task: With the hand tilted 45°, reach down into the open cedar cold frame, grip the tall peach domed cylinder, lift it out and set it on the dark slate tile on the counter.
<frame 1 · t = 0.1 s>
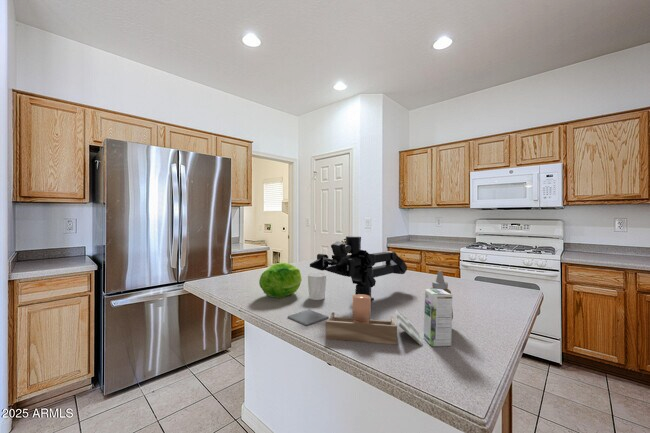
hand: (317, 267, 103), 17 cm above the countertop, tool horizontal, fingers open, 9 cm apart
lettuce: (281, 296, 124), on the countertop
slate tile: (308, 317, 98), on the countertop
white cup: (316, 298, 122), on the countertop
syrup box: (437, 342, 81), on the countertop
cold frame: (361, 331, 87), on the countertop
squeeze bottle: (439, 327, 92), on the countertop
peach domed cylinder: (361, 332, 86), resting in cold frame
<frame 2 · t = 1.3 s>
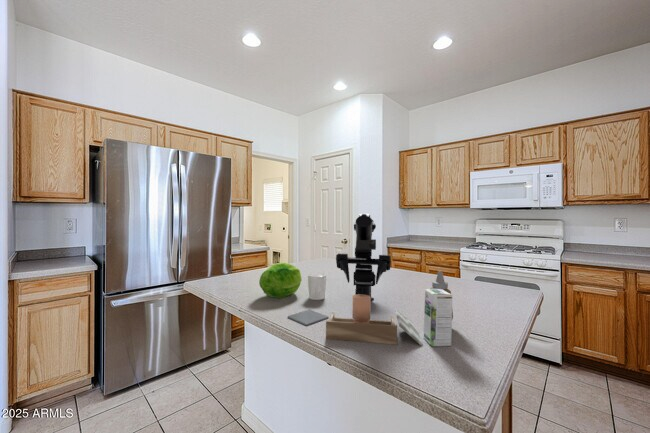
hand: (362, 282, 94), 13 cm above the countertop, tool tilted 45°, fingers open, 9 cm apart
nothing on the countertop moved.
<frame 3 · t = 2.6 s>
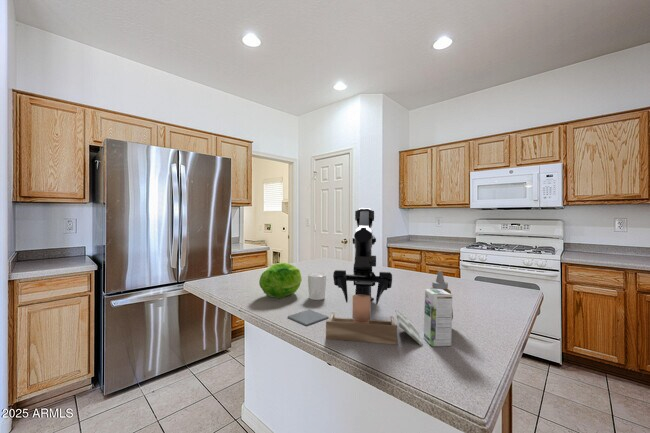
hand: (361, 302, 87), 9 cm above the countertop, tool tilted 45°, fingers open, 9 cm apart
nothing on the countertop moved.
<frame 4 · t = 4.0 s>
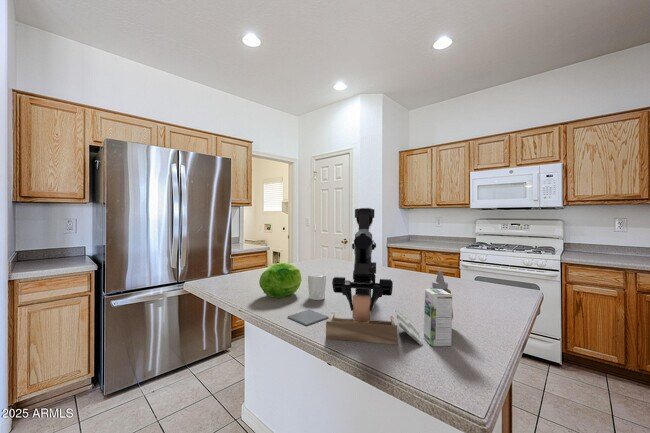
hand: (361, 311, 85), 7 cm above the countertop, tool tilted 45°, fingers closed on peach domed cylinder, 5 cm apart
peach domed cylinder: (361, 332, 86), resting in cold frame, touching gripper
everything else where it was.
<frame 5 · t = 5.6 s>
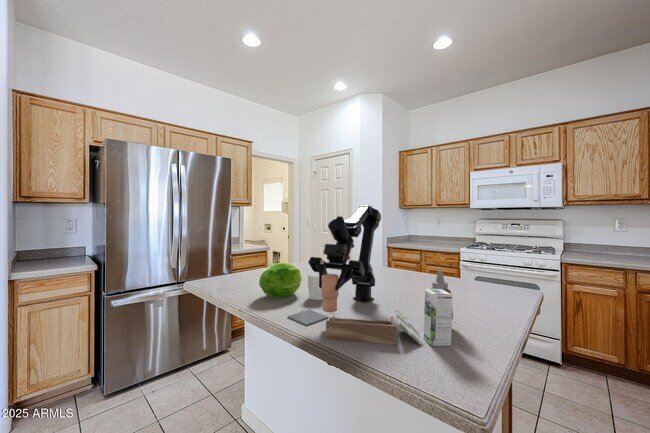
hand: (328, 288, 90), 12 cm above the countertop, tool tilted 45°, fingers closed on peach domed cylinder, 5 cm apart
peach domed cylinder: (329, 309, 91), point 5 cm above the countertop, touching gripper
everything else where it was.
when the fingers open (8 cm above the countertop, at t = 7.5 s): peach domed cylinder stays where it is, resting on slate tile.
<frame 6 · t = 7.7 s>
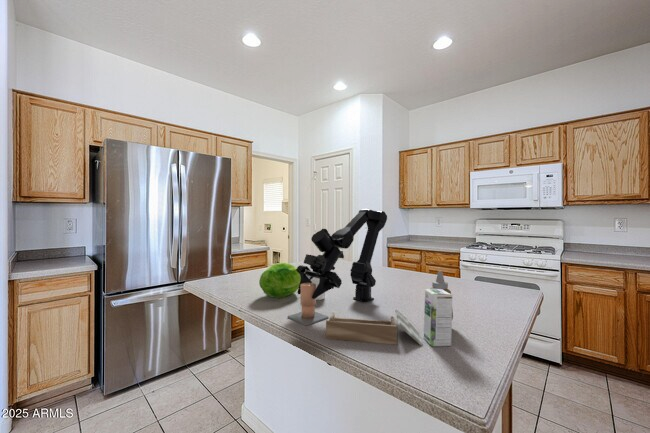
hand: (305, 295, 97), 8 cm above the countertop, tool tilted 45°, fingers open, 7 cm apart
peach domed cylinder: (308, 316, 98), point 1 cm above the countertop, touching slate tile
everything else where it was.
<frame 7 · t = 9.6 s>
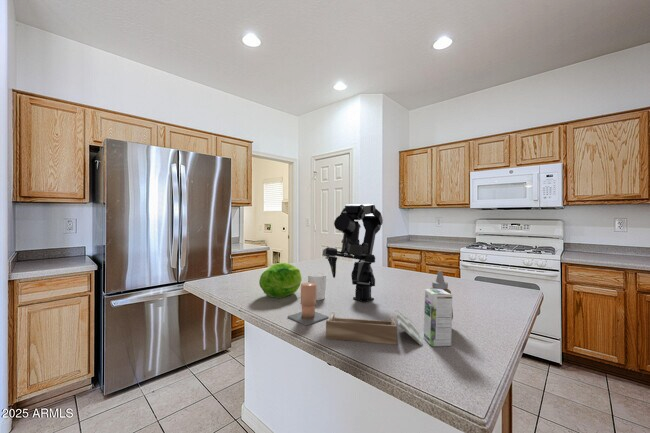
hand: (346, 279, 102), 12 cm above the countertop, tool tilted 15°, fingers open, 9 cm apart
nothing on the countertop moved.
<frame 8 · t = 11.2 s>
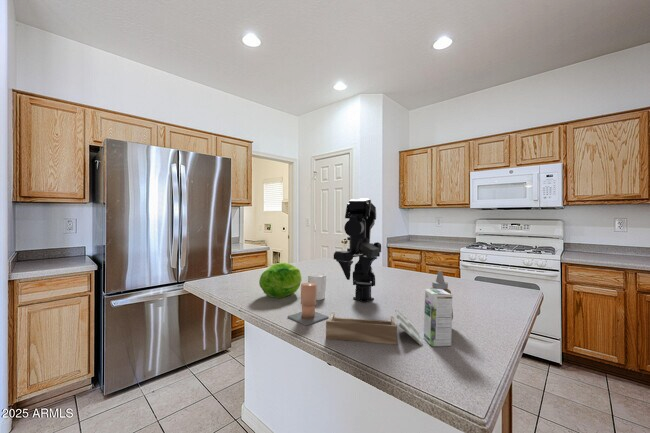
hand: (357, 277, 103), 13 cm above the countertop, tool pointing down, fingers open, 9 cm apart
nothing on the countertop moved.
at the end: peach domed cylinder inside the target area on the slate tile (0.0 cm from its centre), point 0.5 cm above the slate tile's base; peach domed cylinder tilted 1°; the gripper is holding nothing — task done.
